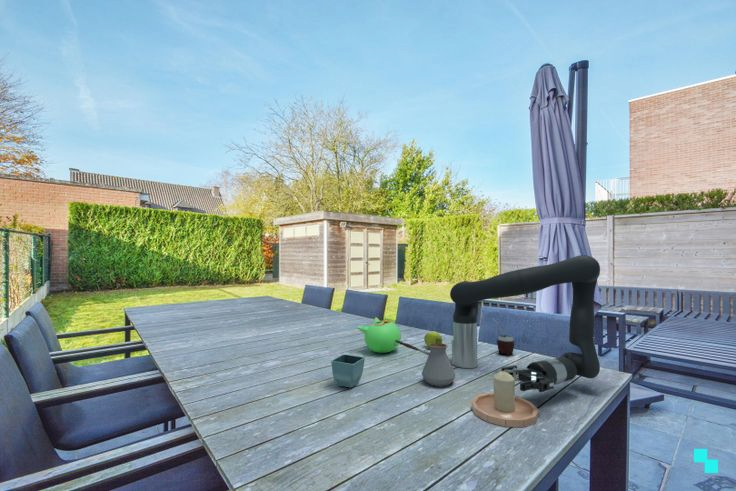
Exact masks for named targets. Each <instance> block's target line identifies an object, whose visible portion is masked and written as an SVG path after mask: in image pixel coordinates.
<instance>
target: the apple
mask: <svg viewBox="0 0 736 491" xmlns="http://www.w3.org/2000/svg"><path fill="white" fill-rule="evenodd" d="M423 339H424V340H423V341H424V342H425V343H424V344H426V346H427V347H429V344H431V343H443V338H442V336H441V334H440V333H439V332H438V331H435V330H433V331H429V332H426V333H425V335H424V338H423ZM429 348H430V347H429Z"/></svg>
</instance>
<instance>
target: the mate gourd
mask: <svg viewBox="0 0 736 491" xmlns="http://www.w3.org/2000/svg"><path fill="white" fill-rule="evenodd" d="M492 320H493V322H494V323H496V325H497V327H498V329H499V332H500V335H499V336H498V337H497V341H496V345H497V350H498V355H499V356H506V357H508V358H510V356H513V355H514V353H513V352H514V348H515V340H514V337H513V336H512V335H509V334H503V331H502V329H501V326H500V324H499V323H498V321H496V319H494V318H492Z"/></svg>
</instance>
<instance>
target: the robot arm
mask: <svg viewBox="0 0 736 491" xmlns="http://www.w3.org/2000/svg"><path fill="white" fill-rule="evenodd" d="M600 274H601V266H600V263H599V261H598V260H597V259H595V257H593V256H591V255H586V254H581V255H576V256H573V257H570V258H566V259H563V260H561V261H557V262H554V263H550V264H545V265H538V266H536V265H535V266H531V267H526V268H520V269H515V270H511V271H508V272H503V273H500V274H496V275H494V276H492V277H488V278H487V279H482V280H477V281H467V280H466V281H461V282H458V283H456V284H454V285H453V286H452V287H451V289H450V292H449V296H450V299H451V301H452V302H453V303H454V304H455V305H454V306H455V308H454V311H453V316H452V326H453V327H452V329H453V330H452V334H453V336H452V337H453V338H452V340H451V366H452V365H453V366H456V367H457V368H463V369H473V368H475V369H476V368H477V367H478V365H479V364H478V360H479V359H478V316H479V314H478V313H479V302H481V301H485V300H490V299H502V298H510V297H517V296H522V295H528V294H533V293H536V292H539V291H542V290H545V289H546V288H550V287H553V286H557V285H562V284H569V283H570V284H571V286H572V304H571V311H570V316H569V329H568V330H569V332H568V334H569V335H568V336H569V337H568V338H569V340H568V341H569V343H570V344H572V345H573V346H576V347H578V348H579V350H580V351H581V353H578V352H572V351H571V352H570V351H569V352H565V353H563V354H561V355H560V356H559V357H556V358H548V359H547V358H546V359H543V360H537V361H532V362H530V363H528V365H527V366H526V368H525V367H523V368H518V366H517V365H510V366H504V367H501V369H500V371H506V372H507V373H509V374H510V375H511V376H512V377H513V378H514V382H519V391H520V392H527V391H530V390H532V391H537V390H538V392H539V393H544V392H548V391H550V390H551V391H552V390H553V389H554V388H555V386H556V385H559V384H561V383H564V382H569V381H571V380H573V379H575V378H576V376H579V377H583V378H585V379H596V378H597V377H598V375H599V373H600V370H601V366H600V361H599V360H600V359H599V356H598V353H597V349H596V346H595V306H594V305H595V304H594V303H595V302H594V301H595V294H596V293H595V291H596V286H597V283H598V278H599V276H600Z"/></svg>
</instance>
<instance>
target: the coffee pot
mask: <svg viewBox="0 0 736 491" xmlns="http://www.w3.org/2000/svg"><path fill="white" fill-rule="evenodd" d="M396 342H397V343H399V345H400V346H401V345H402V346H404V347H406V348H409V349H411V350H414V351H417V352H420V353H422V354H424V355H427V356H428V357H427V359H426V361H425V363H424V365H423V366H424V367H423V368H422V371H421V375H422V378H423V379H424V380H425V382H427V384H428V383H429V385H430V384H431V385H430V386H433V385H435V386H434V387H447V386H450V384H451V383H452V382H453V381H454V380H455V378H456V372H455V371H454V369H453V366H452V362H451V361H450V359H449V356H448V354H447V352H446V351H447V348H448V345H447V344H446V343H443V342H442V343H431V344H429V349H430V352H429V351H426V350H423V349H421V348H418V347H416V346H414V345H412V344H409V343H407V342H403V341H402V340H401V341H398V340H395V341H394V343H395V344H396Z"/></svg>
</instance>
